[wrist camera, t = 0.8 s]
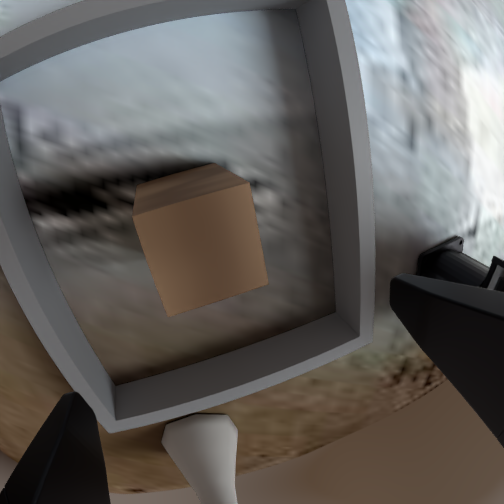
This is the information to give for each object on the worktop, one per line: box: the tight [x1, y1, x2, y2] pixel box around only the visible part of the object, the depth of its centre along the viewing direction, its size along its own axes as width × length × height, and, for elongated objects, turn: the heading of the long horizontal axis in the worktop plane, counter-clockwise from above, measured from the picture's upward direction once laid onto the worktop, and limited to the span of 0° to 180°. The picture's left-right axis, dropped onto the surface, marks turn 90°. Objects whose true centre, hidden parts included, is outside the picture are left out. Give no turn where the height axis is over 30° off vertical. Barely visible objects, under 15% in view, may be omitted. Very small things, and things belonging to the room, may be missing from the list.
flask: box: [161, 414, 238, 504], centre depth 21 cm, size 7×7×10 cm
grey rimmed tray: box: [0, 0, 375, 433], centre depth 17 cm, size 20×24×4 cm
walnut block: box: [132, 163, 269, 317], centre depth 15 cm, size 4×4×6 cm
